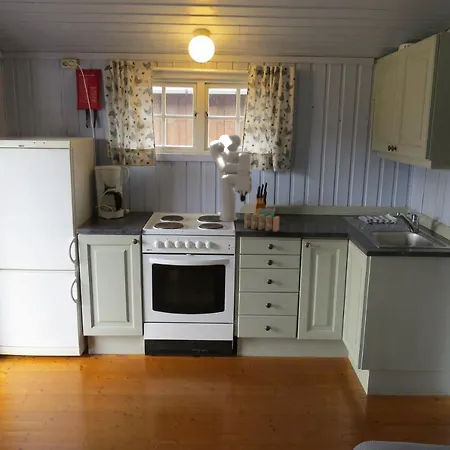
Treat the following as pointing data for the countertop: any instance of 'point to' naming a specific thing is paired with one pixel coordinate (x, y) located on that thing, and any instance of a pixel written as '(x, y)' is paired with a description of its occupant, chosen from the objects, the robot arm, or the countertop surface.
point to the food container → (267, 212)
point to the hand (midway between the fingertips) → (242, 201)
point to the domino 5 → (276, 223)
